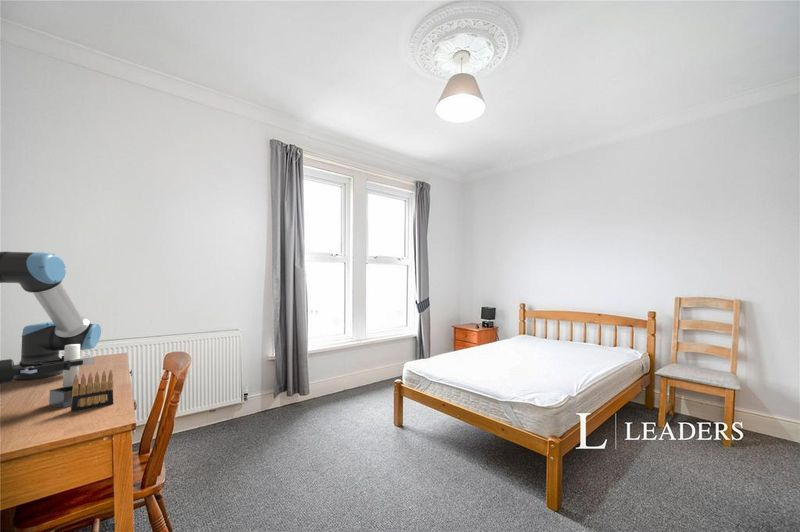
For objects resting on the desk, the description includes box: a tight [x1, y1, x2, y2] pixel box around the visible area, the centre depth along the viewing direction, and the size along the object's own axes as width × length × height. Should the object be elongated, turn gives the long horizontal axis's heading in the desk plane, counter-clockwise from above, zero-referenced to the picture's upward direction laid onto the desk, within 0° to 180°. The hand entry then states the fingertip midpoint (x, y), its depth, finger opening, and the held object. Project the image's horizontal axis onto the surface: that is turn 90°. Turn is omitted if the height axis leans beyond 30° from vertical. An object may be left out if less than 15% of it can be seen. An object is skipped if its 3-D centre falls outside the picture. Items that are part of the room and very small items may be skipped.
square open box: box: [48, 383, 87, 409], centre depth 120 cm, size 8×8×5 cm
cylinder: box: [62, 344, 81, 387], centre depth 120 cm, size 4×4×14 cm
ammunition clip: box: [70, 369, 114, 413], centre depth 116 cm, size 11×2×12 cm, turn 135°
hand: (91, 359), depth 125 cm, fingers closed on cylinder, 4 cm apart
